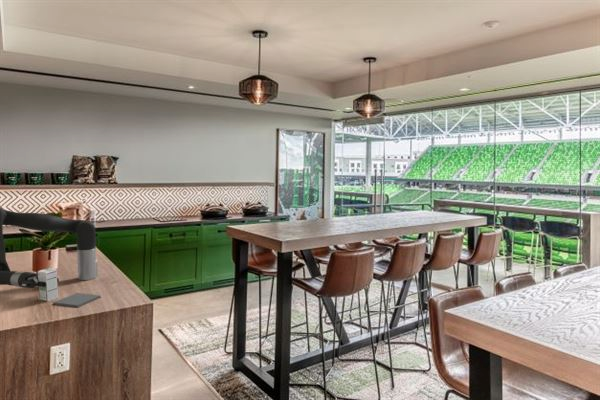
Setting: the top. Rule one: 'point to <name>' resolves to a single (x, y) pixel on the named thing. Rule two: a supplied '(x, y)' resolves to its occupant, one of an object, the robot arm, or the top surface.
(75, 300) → the charcoal mat
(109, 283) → the top surface
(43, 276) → the syrup box
